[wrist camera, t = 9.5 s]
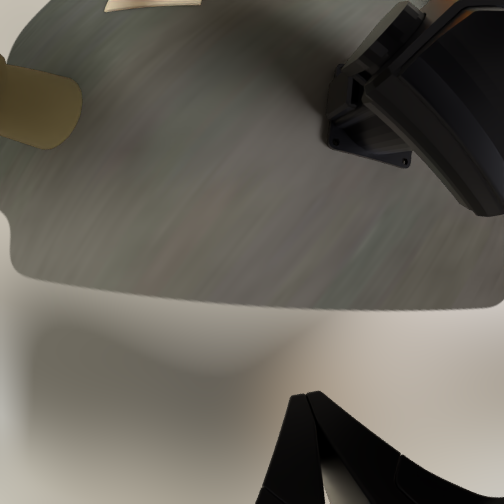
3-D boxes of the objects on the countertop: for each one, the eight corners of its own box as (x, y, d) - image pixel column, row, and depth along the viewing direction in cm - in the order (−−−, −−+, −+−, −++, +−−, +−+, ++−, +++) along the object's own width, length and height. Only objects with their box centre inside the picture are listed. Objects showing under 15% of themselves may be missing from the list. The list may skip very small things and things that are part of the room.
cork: (19, 147, 17) (-80, 145, 6) (38, 78, 15) (-51, 45, 5) (70, 153, 17) (-41, 145, 7) (92, 76, 16) (0, 22, 5)
